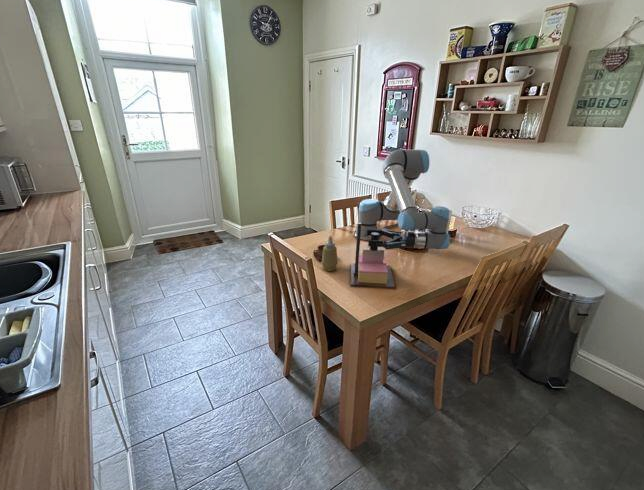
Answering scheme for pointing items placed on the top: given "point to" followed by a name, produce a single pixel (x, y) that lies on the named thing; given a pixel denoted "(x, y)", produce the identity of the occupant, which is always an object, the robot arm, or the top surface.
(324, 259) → the squeeze bottle
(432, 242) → the robot arm
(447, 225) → the milk carton
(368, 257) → the cutter
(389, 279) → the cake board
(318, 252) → the cup and saucer
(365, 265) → the cake
